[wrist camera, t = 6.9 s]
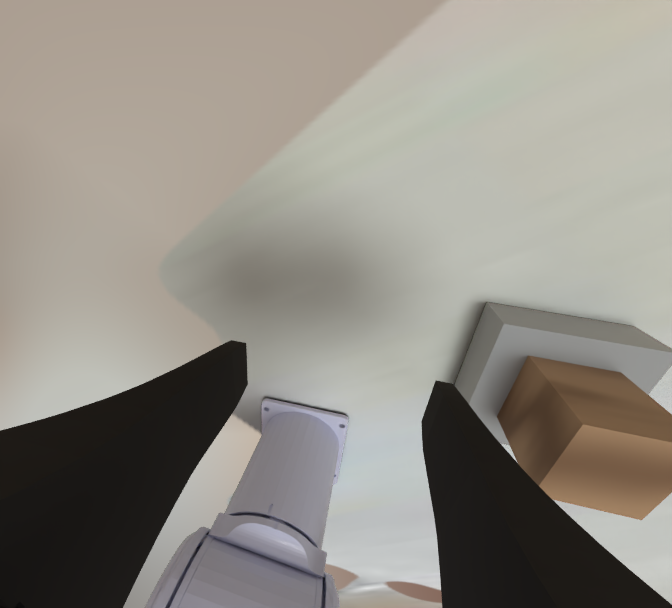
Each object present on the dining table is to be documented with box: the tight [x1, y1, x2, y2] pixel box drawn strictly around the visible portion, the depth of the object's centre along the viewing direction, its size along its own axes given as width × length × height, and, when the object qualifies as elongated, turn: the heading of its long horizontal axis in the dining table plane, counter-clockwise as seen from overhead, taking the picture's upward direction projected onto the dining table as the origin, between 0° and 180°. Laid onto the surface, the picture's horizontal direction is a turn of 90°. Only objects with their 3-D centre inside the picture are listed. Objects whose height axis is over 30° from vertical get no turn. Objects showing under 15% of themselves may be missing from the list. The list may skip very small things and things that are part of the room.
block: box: [497, 355, 672, 520], centre depth 15 cm, size 5×5×5 cm
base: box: [454, 302, 672, 445], centre depth 18 cm, size 9×9×3 cm
